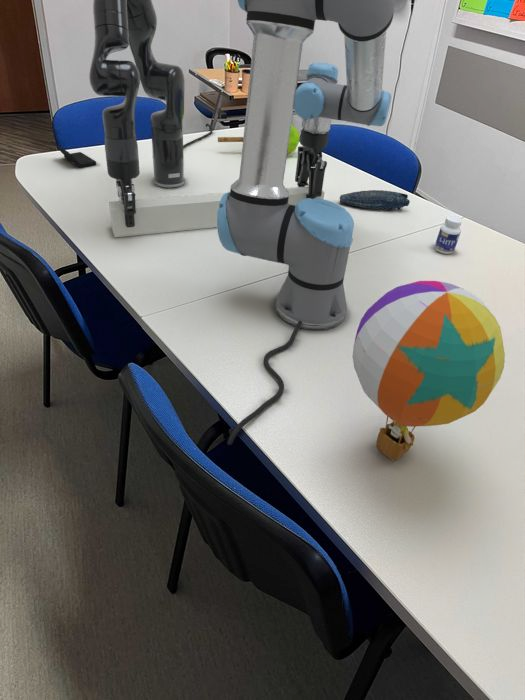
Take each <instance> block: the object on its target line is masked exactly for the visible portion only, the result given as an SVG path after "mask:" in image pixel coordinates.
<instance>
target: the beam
mask: <svg viewBox="0 0 525 700" xmlns="http://www.w3.org/2000/svg"><path fill="white" fill-rule="evenodd" d="M285 188H286V189H287V191H288V192H289V199H288V204H290V205H295V206H296V205H297V203H298V202H299V201H300V200H302V199H305V198H306V195H307V194H309V186H305V187H298V186H297V187H295V186H294V187H293V186H292V187H285ZM225 193H226V192H218V193H217V192H215V193H204V194H192V195H178V196H177V195H176V196H165V197H153V198H140V199H135V206H136V214H134V221H135V226H134V227H126V224H125V214H124V208H123V204H121V201H119V200H113V201H108V206H109V215H110V216H109V217H110V224H111V230H112V233H113V236H114V238H122V237H133V236H142V235H153V234H162V233H173V232H174V233H175V232H182V231H194V230H204V229H213V228H217V213H218V209H219V203H220V200H221V198H222V196H223V195H224V194H225ZM316 198H319V199H324V200H325V191H324V190H323V189H322V194H321V197H316ZM128 208H132V207H127V209H128Z"/></svg>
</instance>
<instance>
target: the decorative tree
mask: <svg viewBox="0 0 525 700" xmlns="http://www.w3.org/2000/svg"><path fill="white" fill-rule="evenodd" d="M243 137H244V136H218V137H217V143H243ZM299 144H300V132H299V131H298V129H297V128H296V127H295V126H294V125H292V124H291V130H290V137H289V144H288V151H287V155H289V154H291V153H293V152H295V151H296V150H297V148H298V145H299Z"/></svg>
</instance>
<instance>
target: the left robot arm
mask: <svg viewBox="0 0 525 700" xmlns="http://www.w3.org/2000/svg"><path fill="white" fill-rule="evenodd" d="M92 12H93V13H92V14H93V27H94V46H93V53H92V58H91V63H90V68H89V74H88V75H89V76H88V77H89V78H88V79H89V84H90V88H91V89H92V90H93V92H94V93H95V94H96V95H98V96H100V97H101V96H102V97H120V98H121V97H123V98H124V100H123V101H122V102H121V103H119V104H116V105H112V106H107V107H105V108H104V109H103V111H102V124H103V132H104V152H105V160H106V170H107V175H108V177H110V178H112V179H115V187H116V194H117V197H118V201H121V204H123V208H124V214H125V224H126V227H134V226H135V221H134V214H136V206H135V200H136V193H135V191H136V188H135V184H134V183H133V179H135V178H138V177H139V176H140V173H141V172H140V157H139V146H138V140H137V131H136V118H135V117H136V104H137V99H138V93H139V89H140V85H141V86H142V89H143V92H144V93H145V94H146V95H147V96H148V97H149V98H151V99H154V100H159V101H165V108H164V109H161V110H158V111H155V112H152V113H151V115H150V133H151V150H152V166H153V184H154V185H155V186H158V187H160V188H165V189H173V188H174V189H175V188H179V187H182V186H184V185H185V167H184V162H185V161H184V149H185V147H188V146H189V145H191V144H193V143H195V142H197V141H200V140H203V139H205V138H207V136H210V135H212V133H213V128H212V126H211V125H210V124H209V123H206V124H205V127H208V128H209V130H210V131H209V132H208V133H206V134H204V135H202V136H200V137H198V138H195V139H193V140H191V141H188V142H186V143H185V144H184V116H185V115H184V114H185V91H186V90H185V89H186V86H185V85H186V83H185V75H184V74H185V73H184V71H183V69H182V68H181V67H180V66H178V65H175V64H170V63H163V62H158V61H157V60H156V58H155V56H154V54H153V50H152V44H153V41H154V40H153V39H154V37H155V34H156V31H157V25H158V17H157V12H156V9H155V7H154V4H153V1H152V0H93V4H92ZM128 47H129V49H130V53H131V54H132V57H133V61H134V62H133V61H131V60H122V59H121V60H120V59H108V57H109V55H110V54H113V53H116V52H117V53H118V52H121V51H125V50H126V49H128ZM127 207H132V208H128V209H127Z"/></svg>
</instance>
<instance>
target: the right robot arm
mask: <svg viewBox="0 0 525 700" xmlns="http://www.w3.org/2000/svg"><path fill="white" fill-rule="evenodd" d="M237 3H238V6H239V8H240V9H241V10H242V11H244V12H245V13H246V21H245V23H246V26H247V27H248V28H249V30H250V31H251V33H252V35H253V39H252V41H253V42H252V52H251V58H250V59H251V60H250V69H249V70H250V71H249V80H248V90H247V97H246V98H247V99H246V109H245V119H244V129H243V136H242V137H243V142H242V149H241V158H240V166H239V177H238V179H237V180H235V181H234V182H233V183H231V184H230V187H229V188H230V189H229V190H230V191H228V192H224V193H225V194H224V195H223V196H222V198H221V200H220V203H219V209H218V213H217V227H216V228H217V229H216V230H217V236H218V239H219V242H220V244H221V245H222V247H223V248H224V249H225V250H227V251H229V252H231V253H235V254H237V255H240V256H242V257H250V258H254V259H259V260H263V261H264V260H265V261H269V262H273V263H279V264H283V265H288V270H287V271H288V272H287V275H286V278H285V279H284V282H283V283H282V285H281V287H280V290H279V291H278V294H277V296H276V300H275V311H276V313H277V315H278V316H279V317H280V318H281V319H282V320H283V321H284V322H286V323H287V324H289V325H291V326H293V327H294V329H293V331H292V332H291V335H290V338H289V339H288V341H287V342H286V343H284V344H283V345H281V346H278V347H276V348H273V349H271V350H269V351H268V352H267V353H265V355H264V357H263V365H264V367H265V370H267V371H268V373H270V375H272V377H273V378H274V379H275V380H276V381H277V383H278V390H277V392H276V393H275V394H274V395H273V396H272V397H271V398H269V399H267V400H266V401H264V402H263V403H262V404H261V405H260V406H259V407H258V408H256V410H254V411H253V412H252V413H250V414H249V415H247V416H246V417H244V418H243V419H242V420H241V421H240V422H238V424H237V425H236V426H235V427H234V429H233V430H232V432H231V433H230V435H229V437H228V439H227V442H226V444H227V445H228V446H231V445H232V444H233V443H234V441H235V439H236V438H237V436H238V434H239V433H240V431H241V430H242V428H244V427H245V425H247V424H248V423H250V422H251V421H252V420H254V419H255V418H256V417H257V416H259V415H261V413H262V412H263V411H265V410H266V409H267V408H268V407H269V406H271V405H272V404H274V403H275V402H276V401H278V400H279V399H280V398H281V396H282V395H283V393H284V390H285V384H284V380H283V379H282V377H281V376H280V375H279V373H277V371H276V370H274V368H272V366H271V365H270V363H269V359H270V357H271V356H273V355H275V354H277V353H280V352H282V351H284V350H286V349H288V348H289V347H290V346H291V345H292V344H293V343H294V341H295V339H296V336H297V334H298V333H299V331H300V329H304V330H310V331H324V330H325V331H326V330H329V329H333V328H336V327H337V326H339V325H340V324H342V323H343V322H344V320H345V318H346V315H347V310H348V309H347V308H348V307H347V306H348V305H347V297H346V292H345V286H344V280H345V275H346V271H347V267H348V266H347V265H348V260H349V256H350V255H349V254H350V250H351V246H352V244H353V242H354V239H353V236H354V235H353V234H354V228H355V221H354V219H353V216H352V215H351V213H349V211H348V210H347V209H346V208H344V207H343V206H341V205H339V204H338V203H335V202H333V201H330V200H328V199H325V198H324V199H319V198H316V197H321V194H322V190H323V186H324V180H325V172H326V168H327V166H328V161H326V160H323V150H324V149H325V148H327V147H328V145H329V137H330V132H329V131H330V130H331V125H332V123H331V122H332V120H336V121H341V122H347V123H353V124H358V125H359V124H360V125H364V126H367V127H370V126H374V127H383V126H384V125H385V124H386V121H387V119H388V115H389V111H390V107H391V101H392V94H391V92H389V91H386V90H384V89H383V78H384V67H385V66H384V65H385V54H386V53H385V51H386V39H387V31H388V30H389V28H390V27H391V24H392V22H393V19H394V13H395V0H237ZM316 21H325V22H328V21H329V22H333V23H337V25H338V28H339V30H340V32H341V33H342V35H343V36H344V37H343V38H344V57H345V74H346V76H345V77H346V84H340V83H339V84H338V77H339V69H338V67H337V66H336V65H334V64H333V63H328V62H311V63H310V64H309V65H308V68H307V69H308V70H307V74H306V81H305V82H303V83H301V84H300V85H299V86H298V80H299V74H300V66H301V60H302V52H303V46H304V43H305V41H306V40H307V39H308V38H310V36H312V35H313V34H314V31H315V26H316V25H315V23H316ZM294 113H295V115H297V116H298V117H299V118H300V119H301V128H302V129H301V130H300V134H299V137H300V140H299V144H300V145H301V146H297V158H296V159H297V160H296V169H295V177H294V182H296V186H297V187H306V186H309V194H307V195H306V198H305V199H302V200H300V201H299V202H298V203H297V205H296V206H295V205H290V204H288V199H289V192H288V191H287V189H286V188H287V187H286V186H285V185H284V180H285V173H286V172H285V171H286V165H287V160H288V159H287V158H288V154H287V151H288V144H289V137H290V130H291V125H292V123H293V116H294Z"/></svg>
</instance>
